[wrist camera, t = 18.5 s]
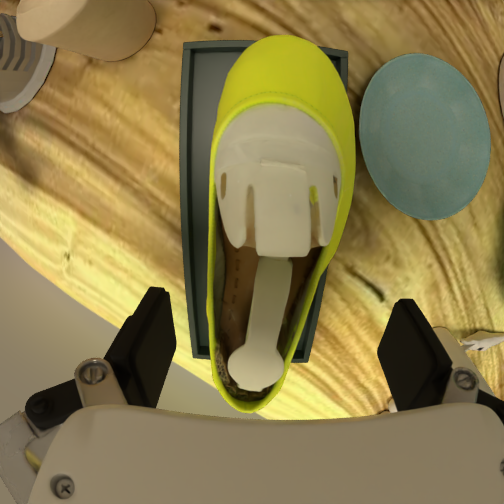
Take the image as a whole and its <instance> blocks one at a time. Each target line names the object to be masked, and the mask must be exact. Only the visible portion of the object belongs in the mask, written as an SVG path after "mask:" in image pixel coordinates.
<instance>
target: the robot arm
mask: <svg viewBox="0 0 504 504" xmlns="http://www.w3.org/2000/svg"><path fill="white" fill-rule="evenodd" d="M499 92H500V102H501V107H502V113H503V117H504V56H503V58H502V61H501V65H500V72H499ZM175 350H176V335H175V329H174V323H173V316H172V309H171V302H170V295H169V292H166V291H165V289H164V288H161V287H150V288H149V289H148V291H147V292H146V294H145V295H144V297H143V299H142V300H141V302H140V304H139V305H138V307H137V309H136V310H135V312H134V314H133V315H132V316H129V317H128V318H127V319H126V321H125V322H124V324H123V326H122V327H121V329H120V331H119V332H118V334H117V336H116V338H115V339H114V341H113V343H112V345H111V346H110V348H109V350H108V351H107V353H106V355H105V357H104V359H101V358H91V359H87V360H85V361H83V362H82V363H80V364H79V365H78V367H77V368H76V370H75V373H74V376H75V379H72V380H70V381H67V382H65V383H62V384H59V385H57V386H54V387H51V388H49V389H46V390H43V391H40V392H38V393H35V394H34V395H32V396H31V397H30V398H29V399H28V401H27V403H26V406H25V411H24V412H22V413H21V411H18V412H17V413H15V414H14V415H12V416H11V417H10V418H8V419H7V420H5V421H4V422H3V423H1V424H0V477H1V478H2V480H3V482H4V484H5V485H6V487H7V488H8V490H9V492H10V493H11V495H12V497H13V498H14V500H15V501H16V503H17V504H504V401H502V400H500V399H498V398H496V397H494V396H492V395H490V394H488V393H486V392H484V391H482V390H481V389H479V379H478V377H477V376H476V374H475V373H474V372H473V371H472V370H470V369H468V368H466V367H457V368H455V369H453V368H452V364H453V362H452V360H451V358H450V357H449V355H448V353H447V351H446V350H445V348H444V346H443V345H442V343H441V341H440V340H439V338H438V337H437V335H436V333H435V332H434V330H433V329H432V327H431V325H430V324H429V322H428V321H427V319H426V318H425V316H424V315H423V313H422V312H421V310H420V309H419V307H418V306H417V304H416V303H415V301H414V300H413V299H399V301H398V302H396V303H395V305H394V307H393V310H392V313H391V316H390V318H389V321H388V324H387V326H386V329H385V332H384V334H383V337H382V339H381V342H380V344H379V347H378V350H377V355H378V358H379V361H380V364H381V366H382V369H383V372H384V374H385V377H386V380H387V383H388V385H389V388H390V391H391V394H392V397H393V400H394V403H395V406H396V409H397V412H393V413H386V414H379V415H370V416H361V417H350V418H337V419H318V420H261V419H241V418H227V417H216V416H206V415H199V414H190V413H181V412H175V411H168V410H162V409H156V406H157V403H158V400H159V397H160V394H161V391H162V388H163V385H164V381H165V379H166V375H167V373H168V370H169V367H170V364H171V361H172V358H173V355H174V352H175Z"/></svg>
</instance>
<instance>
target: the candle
mask: <svg viewBox="0 0 504 504" xmlns="http://www.w3.org/2000/svg"><path fill="white" fill-rule="evenodd" d="M16 22H17V30H18V33H19V35H20V36H21V37H22V38H23V39H25V40H27V41H32V42H36V43H41V44H45V45H49V46H53V47H57V48H61V49H65V50H69V51H72V52H76V53H79V54H83V55H86V56H89V57H93V58H96V59H99V60H103V61H118V60H122V59H125V58H127V57H129V56H131V55H133V54H134V53H136V52H137V51H138V50H140V49H141V48H142V47H143V46H144V45H145V44H146V42H147V41H148V40H149V38H150V37H151V35H152V33H153V31H154V28H155V24H156V15H155V11H154V9H153V7H152V5H151V4H150V3H149V2H148V1H147V0H20V3H19V5H18V7H17V19H16Z"/></svg>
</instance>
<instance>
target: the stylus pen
mask: <svg viewBox="0 0 504 504" xmlns="http://www.w3.org/2000/svg"><path fill="white" fill-rule="evenodd" d="M502 341H504V333H488V332H486V331H478V332H476V333H475V334H473V335H470V336H468V337H467V338H466V339H463V338H462V339H461V340H460V342H461V343H463V344H464V345H462V346H461V347H462V348H463V350H464V351H465V352H466V351H467V350H478V351H485V350H487V349H488V348H490V347H491V346H494V345H497V344H499V343H500V342H502Z"/></svg>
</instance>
